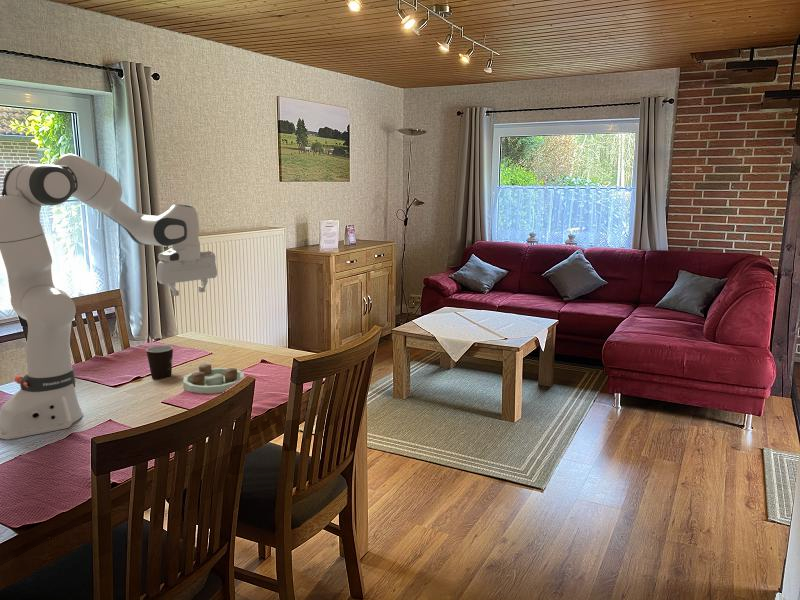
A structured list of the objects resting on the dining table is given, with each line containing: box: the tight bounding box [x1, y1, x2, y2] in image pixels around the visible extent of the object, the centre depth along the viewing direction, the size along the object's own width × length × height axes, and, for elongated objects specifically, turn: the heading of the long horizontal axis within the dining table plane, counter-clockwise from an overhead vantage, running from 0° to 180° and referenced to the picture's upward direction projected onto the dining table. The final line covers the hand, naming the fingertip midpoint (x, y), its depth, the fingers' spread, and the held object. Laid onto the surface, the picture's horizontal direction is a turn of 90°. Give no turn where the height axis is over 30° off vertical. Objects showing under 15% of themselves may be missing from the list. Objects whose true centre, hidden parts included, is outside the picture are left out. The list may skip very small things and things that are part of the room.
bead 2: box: [198, 363, 213, 379], centre depth 212 cm, size 4×4×4 cm
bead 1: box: [191, 371, 205, 386], centre depth 204 cm, size 4×4×4 cm
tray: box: [182, 367, 245, 394], centre depth 208 cm, size 20×20×3 cm
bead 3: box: [225, 367, 238, 384], centre depth 208 cm, size 4×4×4 cm
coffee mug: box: [145, 344, 174, 380], centre depth 218 cm, size 12×9×10 cm
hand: (189, 293), depth 212 cm, fingers open, 8 cm apart
